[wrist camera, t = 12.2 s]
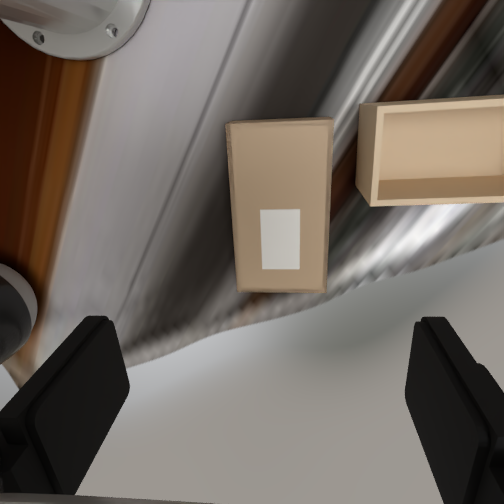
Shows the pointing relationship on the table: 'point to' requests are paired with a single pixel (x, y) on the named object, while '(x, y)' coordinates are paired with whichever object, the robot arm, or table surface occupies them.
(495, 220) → the table surface
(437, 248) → the table surface
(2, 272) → the grey egg-shaped speaker
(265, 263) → the lid
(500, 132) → the box
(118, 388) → the robot arm
